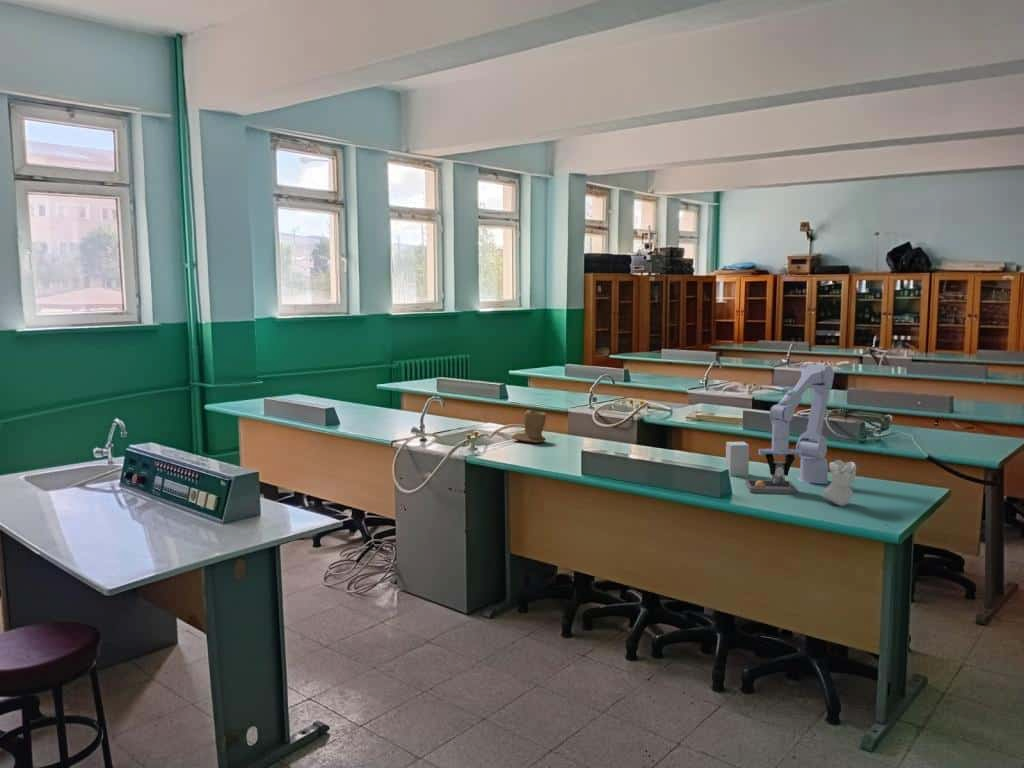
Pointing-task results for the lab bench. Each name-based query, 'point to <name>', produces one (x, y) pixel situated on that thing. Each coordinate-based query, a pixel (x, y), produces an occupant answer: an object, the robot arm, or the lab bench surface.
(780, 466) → the shaker
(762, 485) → the ball
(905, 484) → the lab bench surface
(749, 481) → the tray
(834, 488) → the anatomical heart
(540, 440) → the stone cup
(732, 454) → the supplement box
